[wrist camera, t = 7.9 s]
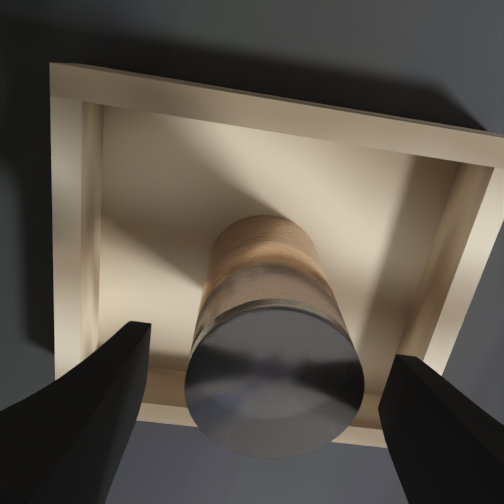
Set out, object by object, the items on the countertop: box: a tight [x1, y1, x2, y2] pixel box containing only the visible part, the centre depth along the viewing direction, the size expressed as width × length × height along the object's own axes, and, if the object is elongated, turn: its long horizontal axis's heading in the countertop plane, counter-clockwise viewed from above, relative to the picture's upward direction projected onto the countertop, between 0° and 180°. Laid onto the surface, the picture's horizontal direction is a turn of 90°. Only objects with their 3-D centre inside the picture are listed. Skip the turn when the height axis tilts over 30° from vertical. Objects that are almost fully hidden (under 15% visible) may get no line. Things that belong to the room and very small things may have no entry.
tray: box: [50, 63, 504, 448], centre depth 18 cm, size 14×16×3 cm
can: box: [184, 215, 365, 459], centre depth 15 cm, size 5×5×8 cm
